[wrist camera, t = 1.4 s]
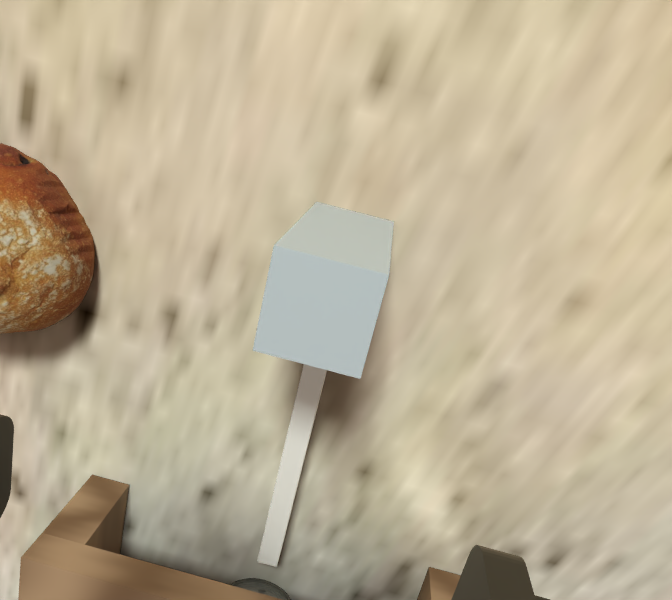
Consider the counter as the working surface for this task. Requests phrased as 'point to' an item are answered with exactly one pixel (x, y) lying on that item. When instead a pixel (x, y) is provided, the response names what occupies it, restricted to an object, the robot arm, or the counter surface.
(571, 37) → the counter surface
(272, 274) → the mallet tool
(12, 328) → the bread roll
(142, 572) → the riser
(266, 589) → the disc
